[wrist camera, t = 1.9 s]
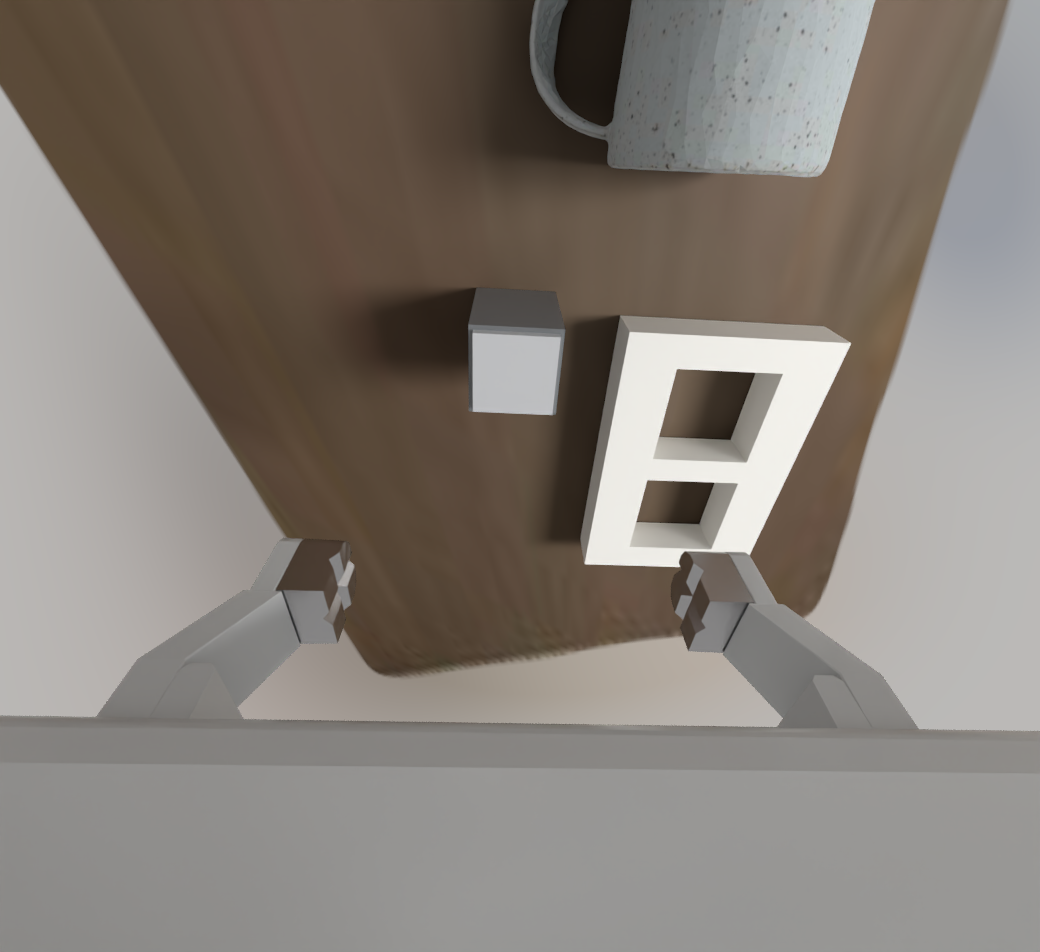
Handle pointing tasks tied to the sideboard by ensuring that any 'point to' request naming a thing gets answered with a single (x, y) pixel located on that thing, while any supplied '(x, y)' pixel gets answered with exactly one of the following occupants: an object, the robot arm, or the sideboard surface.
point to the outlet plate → (727, 463)
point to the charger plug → (515, 351)
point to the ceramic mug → (720, 83)
